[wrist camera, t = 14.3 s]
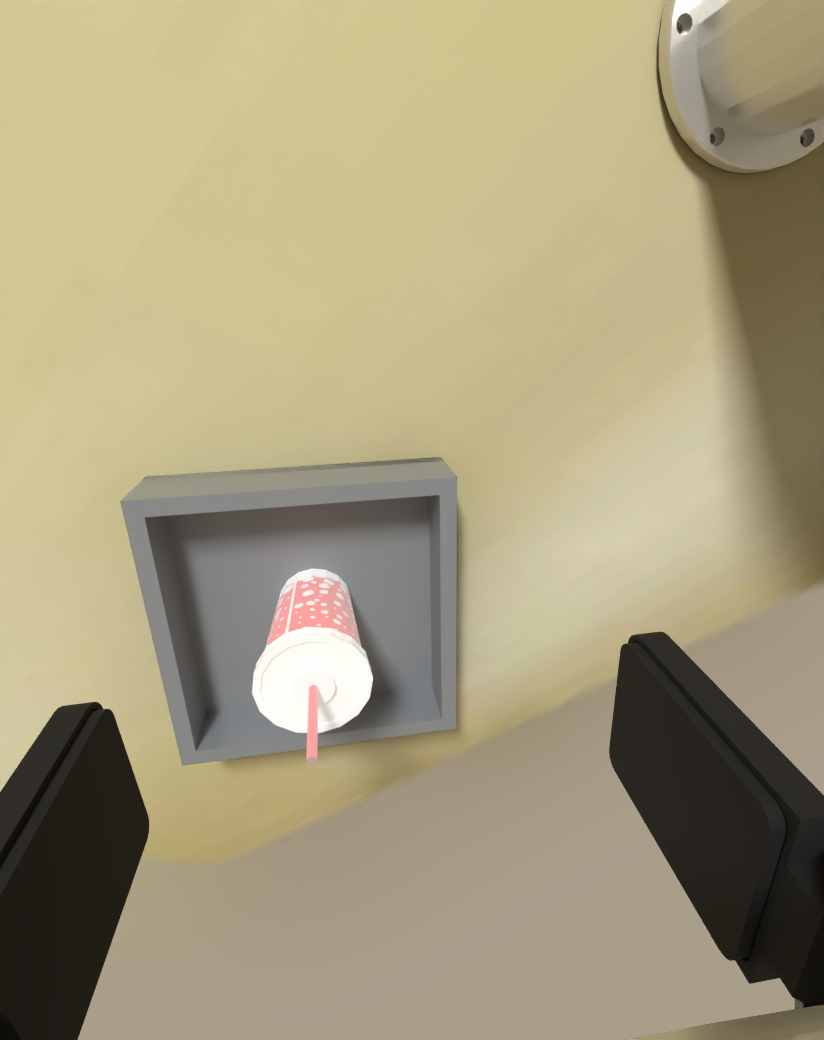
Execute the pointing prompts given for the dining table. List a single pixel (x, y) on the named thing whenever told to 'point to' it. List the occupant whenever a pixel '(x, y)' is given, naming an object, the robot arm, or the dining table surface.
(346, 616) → the beverage cup
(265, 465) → the dining table surface
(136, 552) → the box
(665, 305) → the dining table surface
